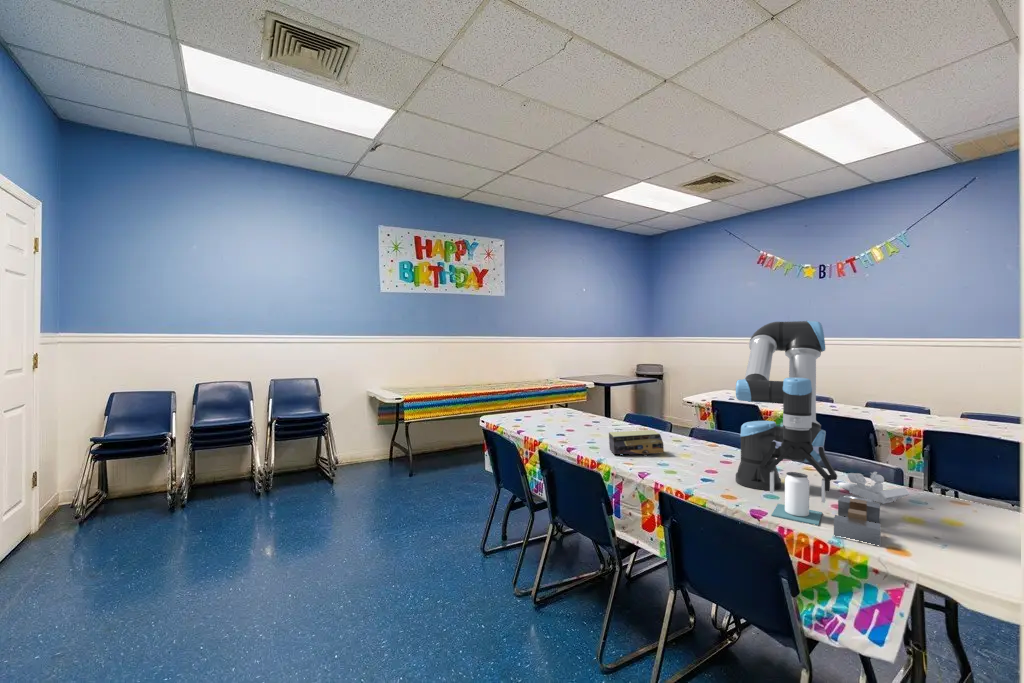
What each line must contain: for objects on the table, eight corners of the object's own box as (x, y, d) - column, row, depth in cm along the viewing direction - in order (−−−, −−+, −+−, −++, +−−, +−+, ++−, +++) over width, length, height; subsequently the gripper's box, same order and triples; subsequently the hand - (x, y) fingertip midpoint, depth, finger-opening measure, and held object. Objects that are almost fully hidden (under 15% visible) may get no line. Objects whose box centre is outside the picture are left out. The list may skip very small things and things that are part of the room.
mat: (777, 504, 150) (777, 503, 150) (822, 513, 142) (822, 512, 142) (771, 515, 140) (771, 514, 140) (818, 525, 133) (818, 524, 133)
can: (779, 511, 143) (779, 472, 143) (794, 508, 146) (794, 470, 146) (799, 518, 137) (799, 478, 137) (814, 515, 140) (814, 476, 139)
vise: (840, 503, 151) (840, 485, 151) (879, 510, 145) (879, 491, 145) (833, 536, 126) (833, 514, 126) (880, 546, 119) (880, 524, 119)
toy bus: (664, 455, 212) (663, 433, 212) (614, 458, 212) (613, 436, 212) (656, 450, 222) (655, 429, 222) (609, 452, 222) (608, 432, 222)
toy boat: (849, 485, 169) (849, 461, 169) (910, 504, 150) (910, 477, 150) (827, 488, 166) (827, 464, 166) (887, 508, 147) (887, 480, 147)
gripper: (749, 425, 146) (749, 491, 146) (846, 435, 131) (846, 509, 131) (754, 421, 152) (754, 485, 152) (847, 431, 136) (847, 501, 137)
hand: (797, 496), depth 141 cm, fingers open, 13 cm apart
